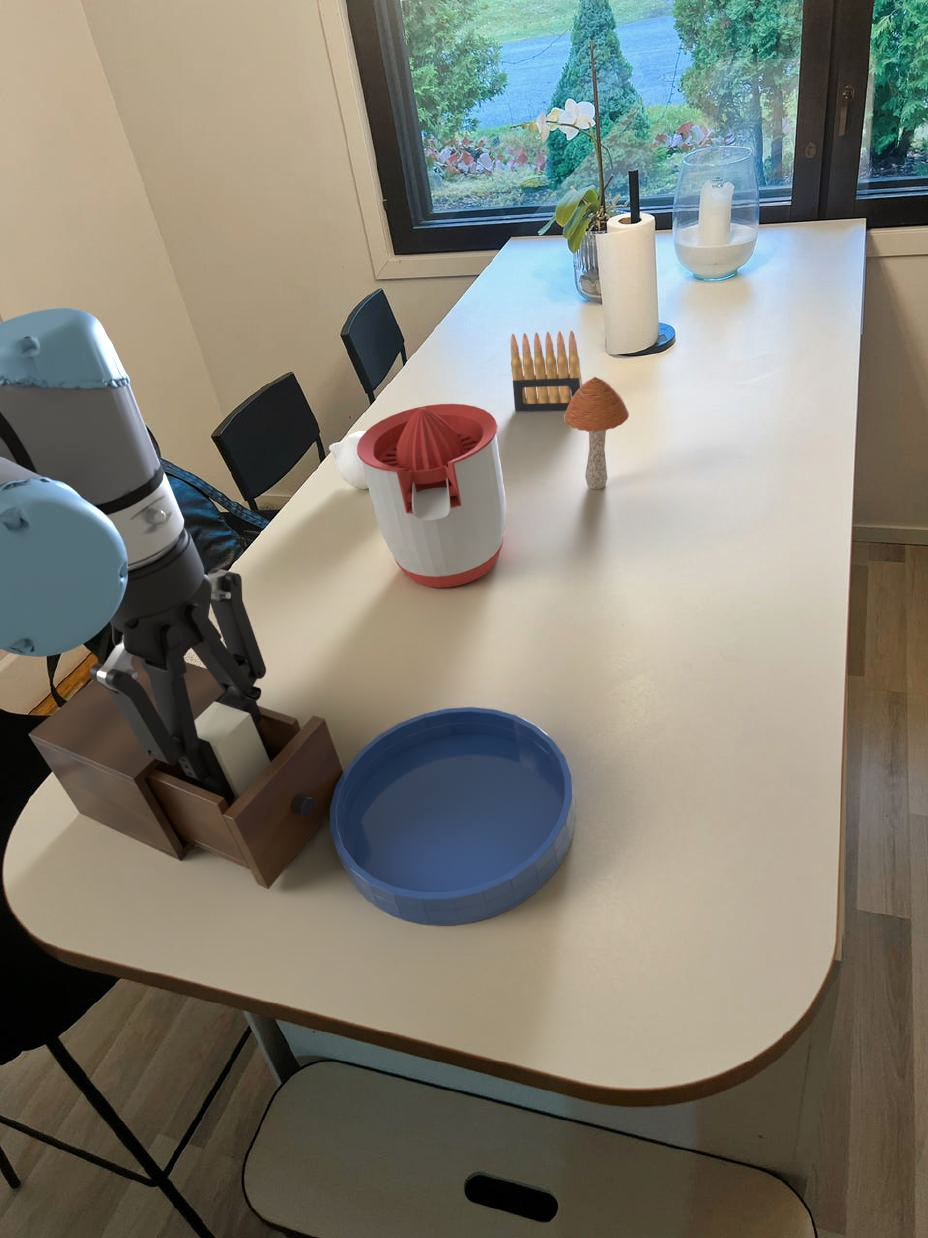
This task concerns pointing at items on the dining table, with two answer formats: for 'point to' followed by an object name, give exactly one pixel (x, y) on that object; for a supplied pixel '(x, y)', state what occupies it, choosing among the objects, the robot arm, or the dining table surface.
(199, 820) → the drawer
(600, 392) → the mushroom
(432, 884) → the bowl
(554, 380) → the ammunition clip
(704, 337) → the dining table surface
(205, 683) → the cabinet
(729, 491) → the dining table surface
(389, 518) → the citrus juicer
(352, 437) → the cat figurine
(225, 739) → the block
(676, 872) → the dining table surface
